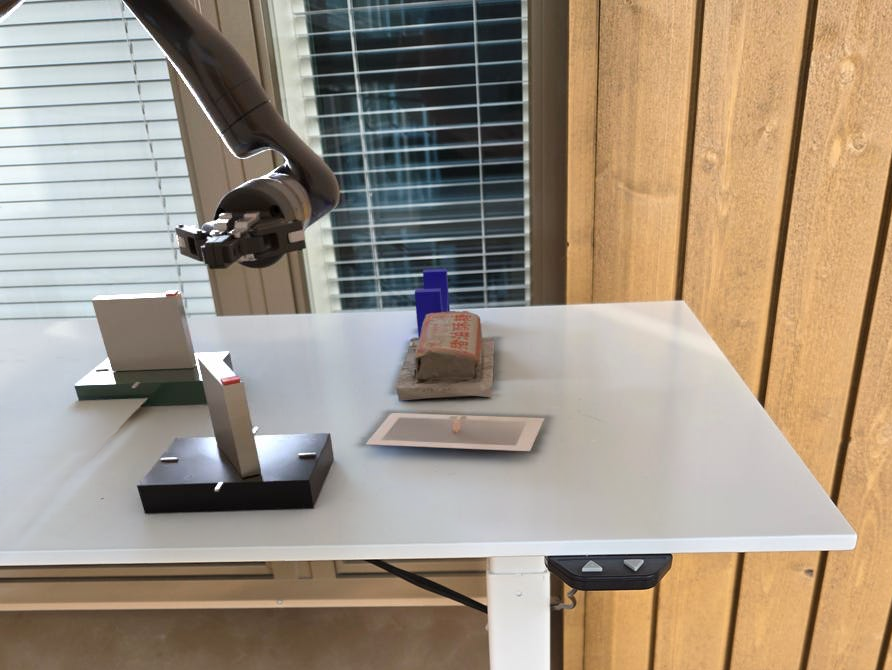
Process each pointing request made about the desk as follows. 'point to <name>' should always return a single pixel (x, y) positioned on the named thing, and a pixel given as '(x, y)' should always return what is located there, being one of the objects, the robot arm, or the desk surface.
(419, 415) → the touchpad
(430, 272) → the blue stepped block
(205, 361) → the red-tipped upright panel
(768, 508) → the desk surface
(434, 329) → the brown block with base
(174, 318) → the beige slab
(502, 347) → the desk surface
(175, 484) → the black square base
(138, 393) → the green base plate
